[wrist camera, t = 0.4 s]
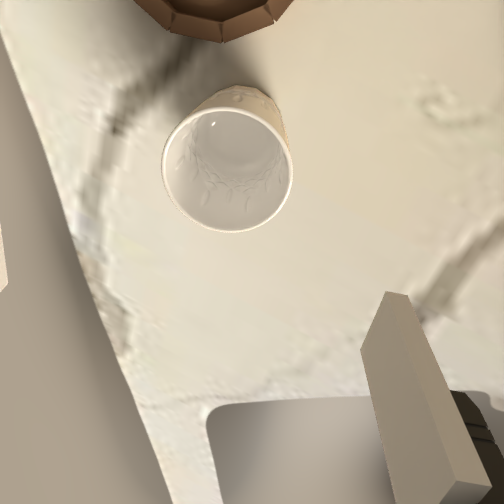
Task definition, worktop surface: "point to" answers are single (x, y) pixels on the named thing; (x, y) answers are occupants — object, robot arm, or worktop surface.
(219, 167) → the white cup
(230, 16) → the ring tray
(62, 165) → the worktop surface
